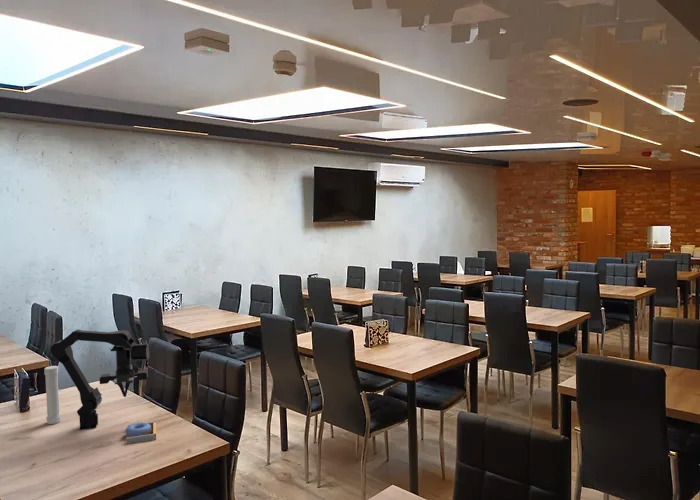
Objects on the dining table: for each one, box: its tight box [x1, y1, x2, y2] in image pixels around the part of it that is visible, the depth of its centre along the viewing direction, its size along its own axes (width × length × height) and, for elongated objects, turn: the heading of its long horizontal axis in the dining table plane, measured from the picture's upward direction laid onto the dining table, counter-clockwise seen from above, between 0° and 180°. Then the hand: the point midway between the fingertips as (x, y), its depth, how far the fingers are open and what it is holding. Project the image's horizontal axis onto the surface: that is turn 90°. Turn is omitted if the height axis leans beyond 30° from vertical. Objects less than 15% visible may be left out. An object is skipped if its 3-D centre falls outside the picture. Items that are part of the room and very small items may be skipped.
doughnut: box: [125, 422, 152, 438], centre depth 222 cm, size 10×10×5 cm
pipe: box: [43, 355, 62, 425], centre depth 236 cm, size 6×6×30 cm
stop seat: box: [125, 421, 157, 444], centre depth 222 cm, size 11×15×2 cm
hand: (124, 396), depth 233 cm, fingers closed
